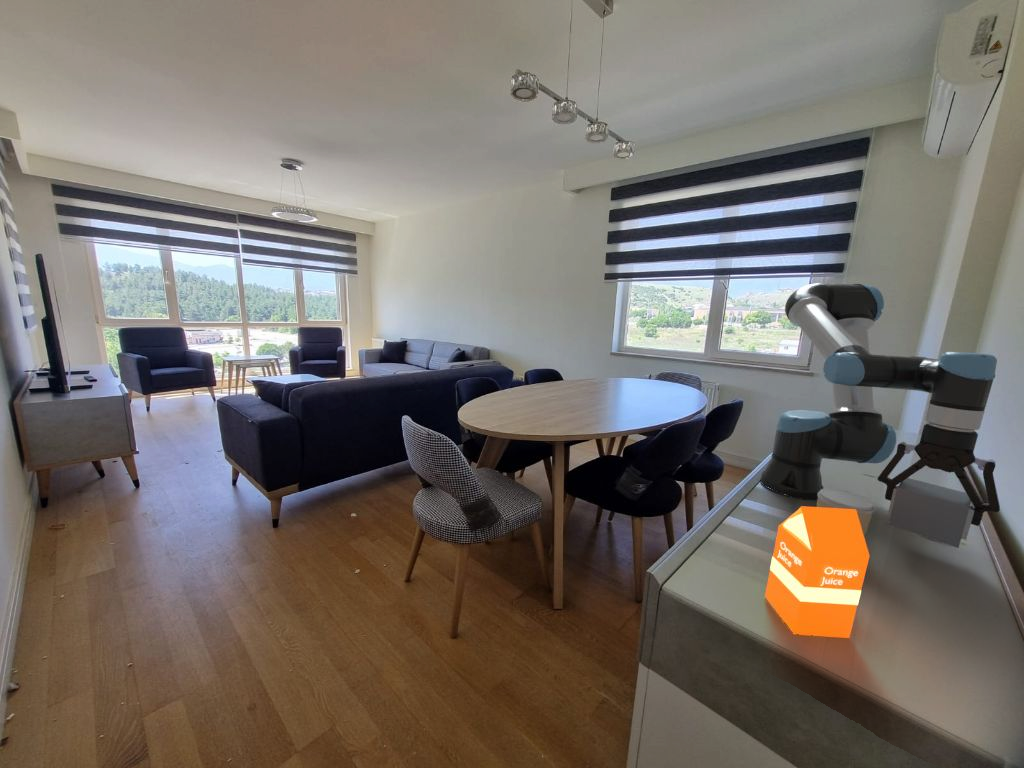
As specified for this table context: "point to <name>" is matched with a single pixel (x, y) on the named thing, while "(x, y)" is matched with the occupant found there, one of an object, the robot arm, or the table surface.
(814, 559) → the orange juice
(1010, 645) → the table surface
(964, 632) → the table surface
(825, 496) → the coffee cup
